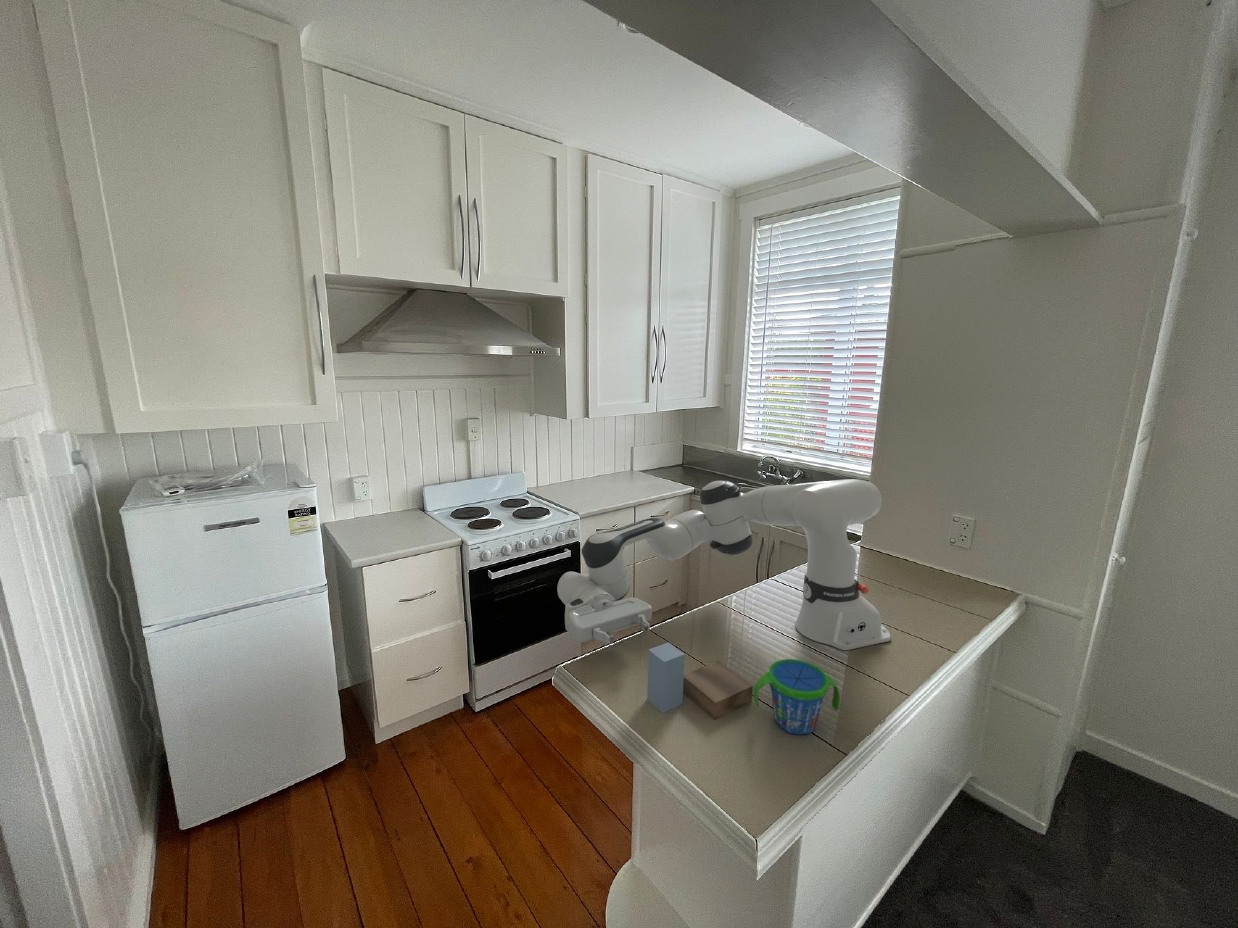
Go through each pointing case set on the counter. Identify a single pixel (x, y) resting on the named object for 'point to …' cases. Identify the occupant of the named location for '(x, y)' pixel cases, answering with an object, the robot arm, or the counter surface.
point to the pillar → (665, 677)
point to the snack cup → (797, 694)
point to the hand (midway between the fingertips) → (629, 634)
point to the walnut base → (717, 689)
